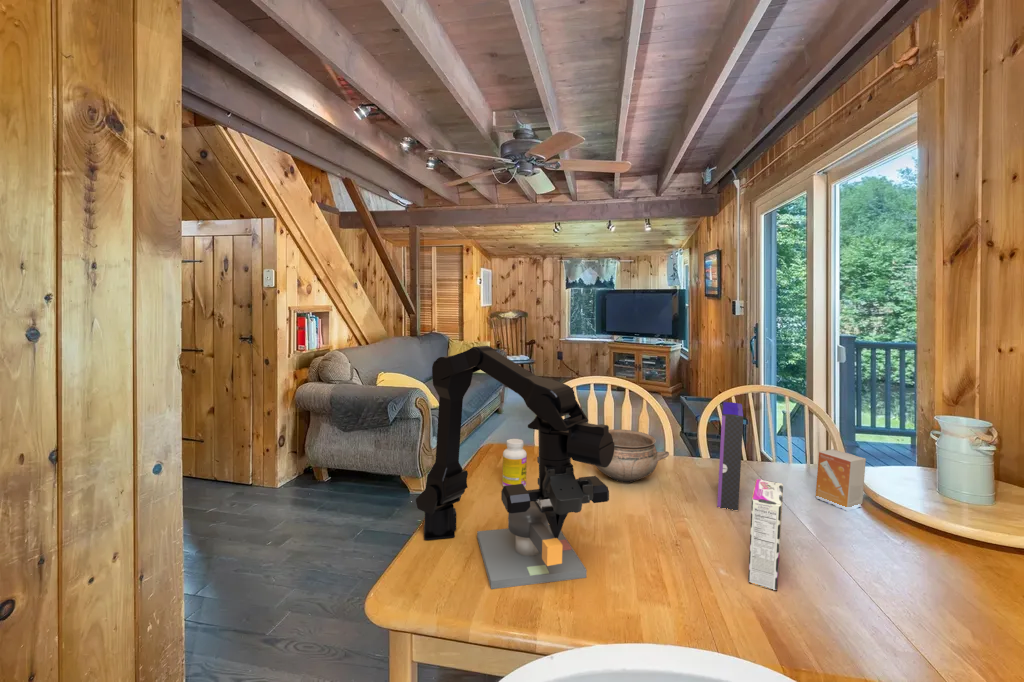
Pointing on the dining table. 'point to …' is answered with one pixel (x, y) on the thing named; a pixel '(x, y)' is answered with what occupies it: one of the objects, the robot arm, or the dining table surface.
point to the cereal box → (730, 456)
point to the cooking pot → (632, 456)
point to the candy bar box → (765, 533)
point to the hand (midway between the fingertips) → (555, 538)
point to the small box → (840, 477)
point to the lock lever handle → (536, 533)
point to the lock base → (524, 560)
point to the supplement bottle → (514, 463)
